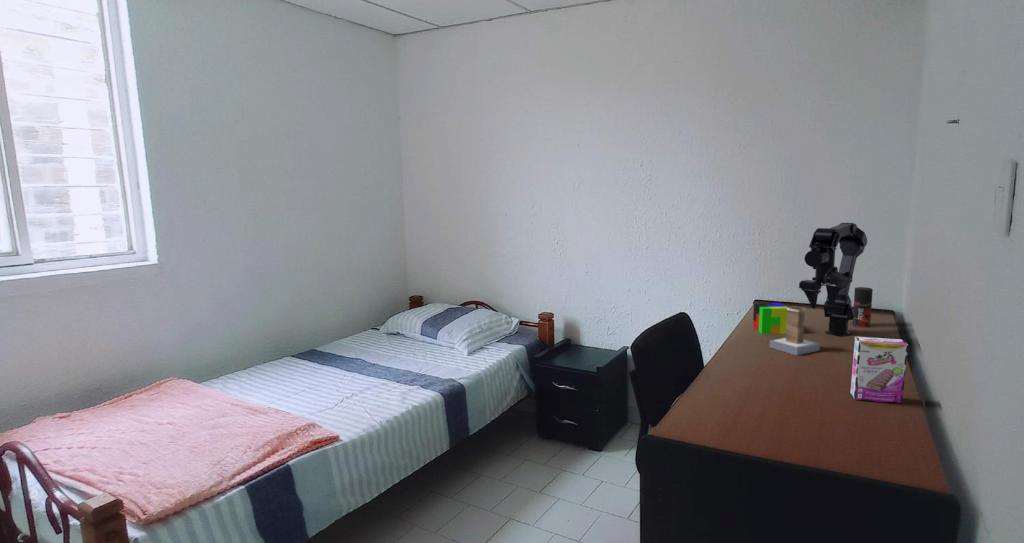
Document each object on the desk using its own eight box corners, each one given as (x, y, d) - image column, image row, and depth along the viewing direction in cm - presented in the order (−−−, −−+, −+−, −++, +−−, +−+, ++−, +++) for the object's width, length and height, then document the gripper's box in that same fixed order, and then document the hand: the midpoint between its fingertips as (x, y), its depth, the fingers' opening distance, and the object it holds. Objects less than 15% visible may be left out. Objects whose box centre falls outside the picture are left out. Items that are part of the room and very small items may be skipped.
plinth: (791, 342, 199) (791, 335, 198) (819, 350, 189) (819, 343, 189) (769, 347, 194) (769, 340, 194) (797, 355, 184) (797, 347, 184)
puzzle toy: (778, 327, 220) (780, 302, 219) (788, 334, 210) (790, 308, 209) (753, 327, 221) (753, 303, 220) (761, 334, 211) (762, 308, 210)
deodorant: (853, 327, 217) (856, 289, 214) (851, 323, 222) (853, 286, 220) (871, 328, 214) (874, 290, 212) (868, 324, 220) (870, 287, 218)
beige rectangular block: (792, 339, 194) (793, 306, 192) (803, 341, 191) (805, 307, 189) (785, 341, 192) (787, 307, 190) (797, 343, 188) (798, 309, 187)
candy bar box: (854, 400, 146) (858, 341, 144) (849, 393, 151) (853, 335, 148) (904, 404, 142) (909, 343, 140) (897, 397, 147) (902, 338, 145)
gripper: (828, 268, 183) (825, 314, 186) (864, 264, 191) (861, 307, 193) (798, 265, 193) (796, 308, 196) (834, 260, 201) (832, 302, 203)
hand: (822, 306), depth 197 cm, fingers open, 9 cm apart
